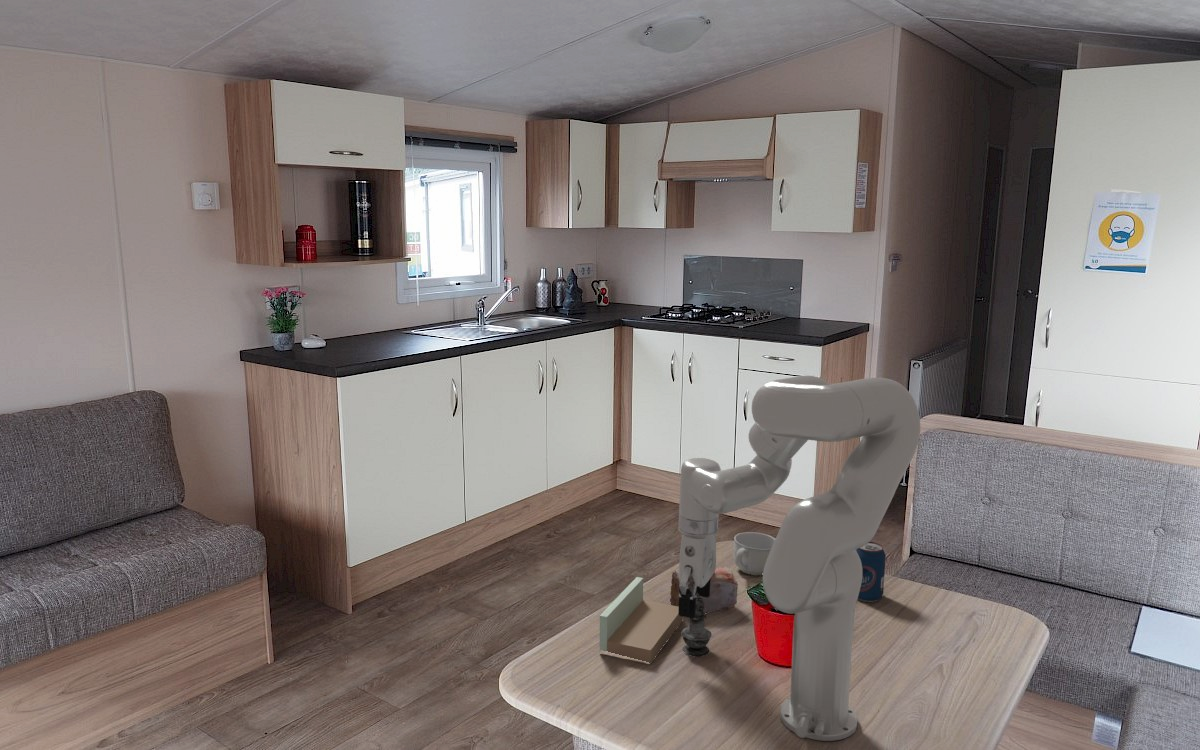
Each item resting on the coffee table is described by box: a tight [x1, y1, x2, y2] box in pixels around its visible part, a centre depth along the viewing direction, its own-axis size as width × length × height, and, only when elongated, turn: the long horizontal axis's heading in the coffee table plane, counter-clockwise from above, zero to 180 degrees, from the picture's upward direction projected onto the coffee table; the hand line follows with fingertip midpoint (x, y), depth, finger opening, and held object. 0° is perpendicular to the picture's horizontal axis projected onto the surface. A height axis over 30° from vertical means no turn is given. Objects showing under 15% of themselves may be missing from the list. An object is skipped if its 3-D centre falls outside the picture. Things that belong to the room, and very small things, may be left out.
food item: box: [669, 566, 739, 614], centre depth 187 cm, size 14×8×10 cm, turn 102°
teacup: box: [733, 531, 776, 576], centre depth 205 cm, size 14×11×8 cm
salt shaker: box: [680, 593, 712, 658], centre depth 167 cm, size 6×6×12 cm
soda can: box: [855, 541, 887, 603], centre depth 192 cm, size 7×7×12 cm
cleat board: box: [599, 576, 684, 663], centre depth 173 cm, size 20×10×8 cm, turn 157°
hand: (694, 605), depth 168 cm, fingers open, 9 cm apart
